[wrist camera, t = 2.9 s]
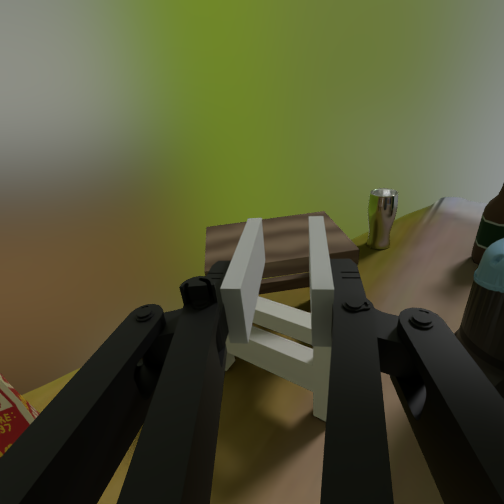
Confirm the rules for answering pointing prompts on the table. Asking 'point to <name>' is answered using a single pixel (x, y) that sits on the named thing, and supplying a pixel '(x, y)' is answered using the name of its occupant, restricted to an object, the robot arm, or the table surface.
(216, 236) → the stool
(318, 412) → the gate leg
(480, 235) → the beer bottle
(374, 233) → the beer glass
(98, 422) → the robot arm
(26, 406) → the milk carton
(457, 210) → the table surface
